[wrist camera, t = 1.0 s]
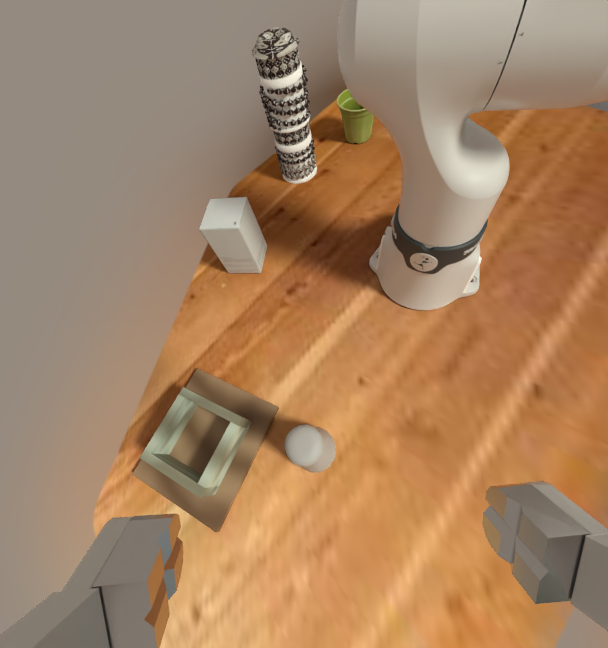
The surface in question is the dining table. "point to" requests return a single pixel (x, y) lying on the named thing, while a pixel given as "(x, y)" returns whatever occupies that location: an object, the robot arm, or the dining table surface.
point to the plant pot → (354, 119)
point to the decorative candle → (286, 102)
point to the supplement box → (234, 234)
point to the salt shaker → (310, 448)
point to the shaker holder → (206, 447)
